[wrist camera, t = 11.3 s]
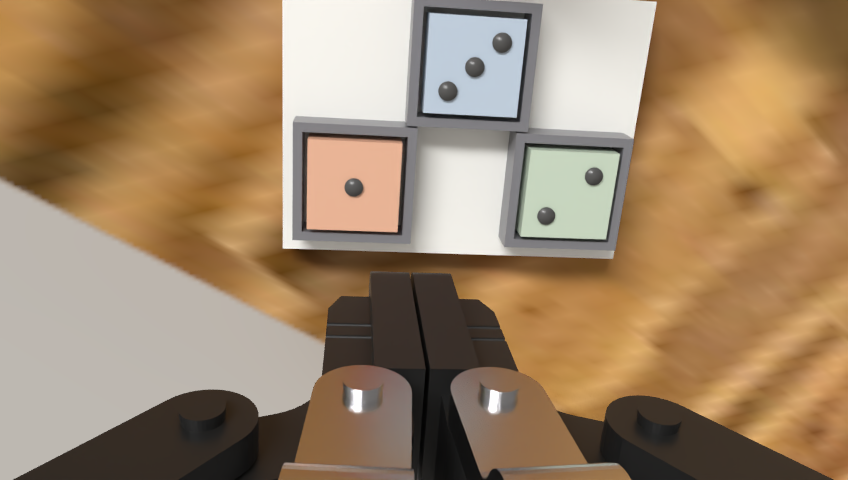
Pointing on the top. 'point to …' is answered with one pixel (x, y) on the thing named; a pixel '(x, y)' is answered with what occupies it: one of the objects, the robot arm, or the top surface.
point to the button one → (353, 182)
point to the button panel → (459, 116)
